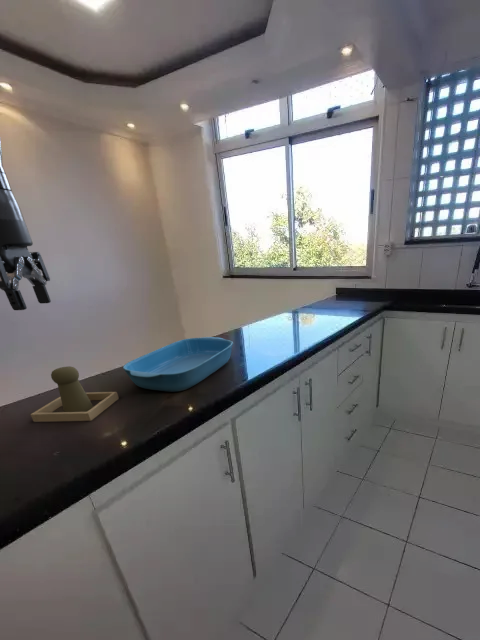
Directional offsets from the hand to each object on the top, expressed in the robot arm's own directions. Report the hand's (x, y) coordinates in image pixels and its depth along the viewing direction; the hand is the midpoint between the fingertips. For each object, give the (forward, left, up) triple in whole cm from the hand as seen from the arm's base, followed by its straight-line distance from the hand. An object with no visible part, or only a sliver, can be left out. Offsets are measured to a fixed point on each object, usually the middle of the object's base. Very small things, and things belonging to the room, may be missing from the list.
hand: (33, 306), depth 66 cm
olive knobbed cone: (+2, -1, -25) cm, 25 cm away
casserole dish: (+20, +24, -26) cm, 40 cm away
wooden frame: (+2, -1, -25) cm, 25 cm away
